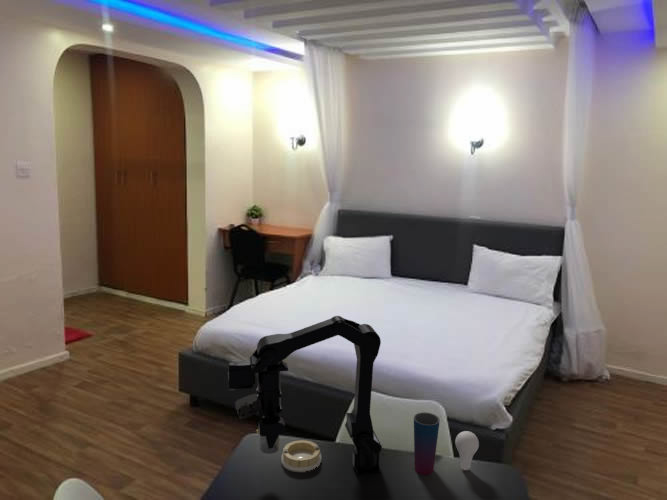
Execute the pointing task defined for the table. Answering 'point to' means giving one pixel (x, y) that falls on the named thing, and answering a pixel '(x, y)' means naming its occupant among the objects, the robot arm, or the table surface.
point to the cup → (425, 442)
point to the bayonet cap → (264, 445)
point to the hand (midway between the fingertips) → (269, 442)
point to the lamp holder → (301, 456)
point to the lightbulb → (466, 448)
